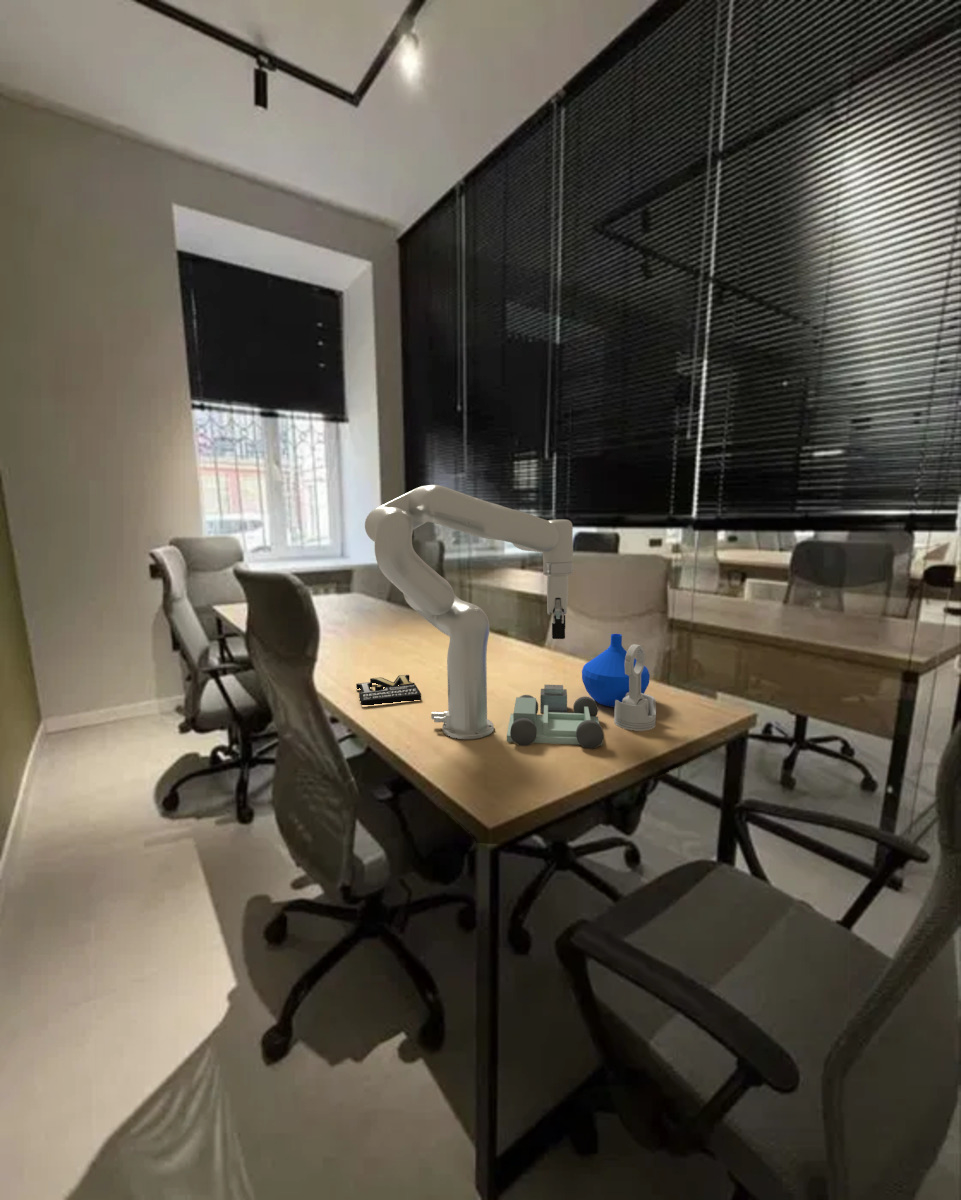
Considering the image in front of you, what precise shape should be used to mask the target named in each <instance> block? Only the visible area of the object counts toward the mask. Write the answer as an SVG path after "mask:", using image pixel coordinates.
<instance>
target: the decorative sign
mask: <svg viewBox="0 0 961 1200" xmlns="http://www.w3.org/2000/svg"><path fill="white" fill-rule="evenodd" d="M409 680H410V674H402V675H401V674H400V675H398V676H397V677H396V679H395V680H394V681H391V680H389V679H386V678H384V677H380V676H379V677H372V678H371V677H370V679H369V681H368V682H361V683H359V682H358V683H356V686H355V687H356V688H357V689H359V688H360V689H361V691H359V693H358V698H360V700H359V702H360V701H361V703H360V706H361V705H374V704H382V703H393V702H401V701H414V700H421V701H422V692H421V691H420V690H419V688H418V687H417V685H416V683H415V682H410V681H409ZM372 683H376V684H378V685H376V686H374V690H371V689H370V687H372V688H373V686H372ZM398 685H399V686H398ZM383 687H385V688H384V689H383ZM356 688H355V689H356ZM357 689H356V690H357Z"/></svg>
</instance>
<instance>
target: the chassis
mask: <svg viewBox="0 0 961 1200" xmlns="http://www.w3.org/2000/svg"><path fill="white" fill-rule="evenodd" d="M598 711H599V710H598V704H597V702H596V701H595V700H594V699H593V698H592V697H591V696H581V697H579V698H577V699H576V700H575V701H574V703H573V712H567V713H557V712H548V705H544V713H543V714H538V712H539V703H538V700H537V697H534V696H532V695H531V694H523V695H520V696H516V697H515V703H514V708H513V713H510V716H509V722H508V727H507V733H506V742H508V743H511V742H512V743H515V744H516V745H518V746H521V747H526V746H529V745H531V744H558V745H559V744H560V745H581V747H583V748H584V749H596V748H598V747H599V746H601V747H603V746H604V744H603V742H604V736H605V735H604V730H603V728H602V727H603V726H601V725H600V722H599V716H598V713H599V712H598Z"/></svg>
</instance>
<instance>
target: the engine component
mask: <svg viewBox="0 0 961 1200" xmlns="http://www.w3.org/2000/svg"><path fill="white" fill-rule="evenodd" d="M626 651H627V653H626V657H625V674H626V675H628V676H629V692H628V693H627V694H626V697H624V698H623V700H622V702H619V701H618V700H615V707H614V715H613V716H614V720H613V721H614V724H615V725H616V726H617V727H619V728H621V729H623V728H624V730H627V729H628V731H632V730H634V731H633V732H645V730H647V731H650V729H651V730H653V729H654V728H656V720H657V719H656V717H657V714H656V713H657V707H656V702H657V701H656V700H657V699H656V698H655V697H654V696H653V695H649V694H647V693H644V694H643V693H641V673H642V671H643V668H644V666H645V664H646V651H645V648H644V647H643V646H642V645H641V644H634V643H633V644H631V645H630V646H629V647H628V649H627V650H626ZM634 658H635V659H636V664H635V667H634ZM652 728H653V729H652Z"/></svg>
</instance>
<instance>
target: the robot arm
mask: <svg viewBox="0 0 961 1200" xmlns="http://www.w3.org/2000/svg"><path fill="white" fill-rule="evenodd" d="M426 523H432V524H436V525H439V526H443V527H445V528H449V529H451V530H455V531H459V532H462V533H465V534H468V535H470V536H474V537H478V538H482V539H485V540H486V539H487V540H496V541H503V542H507V543H511V544H512V545H513V547H515V548H517V549H519V550H522V551H528V552H535V553H542V561H543V562H542V566H543V567H542V568H543V569H542V573H543V576H547V580H546V602H547V603H546V606H547V607H546V608H547V615H549V616H550V615H551V614H552V622H551V637H552V639H553V640H565V639H566V614H567V611H568V605H569V604H568V603H569V576H572V575H573V574H574V553H573V552H574V550H573V549H574V548H573V547H574V546H573V545H574V541H573V539H574V538H573V536H574V535H573V522H572V521H571V520H569V519H549V520H547V519H545V518H541V517H538V516H535V515H534V514H530V513H527V512H523V511H520V510H517V509H513V508H510V507H506V506H503V505H500V504H497V503H493V502H490V501H487V500H484V499H480V498H478V497H474V496H472V495H469V494H466V493H464V492H460V491H458V490H454V489H452V488H449V487H446V486H443V485H439V484H429V485H421V486H419V487H416V488H414V489H412V490H410V491H408V492H406V493H404V494H402V495H400V496H398V497H396V498H394V499H392V500H390V501H388V502H386V503H384V504H382V505H380V506H378V507H376V508H374V509H373V510H371V511H370V512H369V513H368V514H367V516H366V518H365V522H364V530H365V532H366V535H367V536H368V538H369V539H370V540H371V541H372V542H374V555H375V561H376V563H377V565H378V567H379V570H380V571H381V573H382V574H383V575H384V577H385V578H386V579H387V581H389V582H391V583H392V585H393V586H395V587H396V588H397V589H398V590H399V591H400V592H401V593H403V598H404V600H405V602H406V603H407V604H408V606H409V607H410V608H412V609H413V610H414V611H415V612H417V613H418V615H420V616H421V617H422V618H423V619H424V620H426V621H427V622H428V623H429V624H430V625H432V626H433V627H434V628H436V629H438V631H439V632H441V633H442V634H444V635H446V636H447V637H449V642H448V643H449V645H448V649H447V657H446V662H447V663H446V664H447V665H446V667H447V668H446V670H447V704H448V705H447V706H448V707H447V709H448V710H444V711H441V712H440V711H432V712H431V717H430V718H431V720H433V721H434V723H443V724H442V726H441V727H442V732H443V734H444V735H445V736H447V735H448V737H449V736H450V737H449V738H453V739H456V738H457V740H476V739H481V738H485V737H487V736H489V735H490V734H492V733H493V731H494V729H495V728H494V723H493V722H492V721H491V720H490V719H488V690H487V689H488V686H487V685H488V683H487V682H488V681H487V679H488V677H487V672H488V671H487V670H488V669H487V668H488V667H487V651H488V644H489V643H488V642H489V637H490V620H489V618H488V615H487V613H486V612H485V611H484V609H482V608H481V607H480V606H478V605H476V604H475V603H471V602H468V601H465V600H463V599H460V598H459V597H458V596H457V595H456V594H455V592H454V588H453V587H452V585H451V584H450V583H449V582H448V580H447V579H445V578H444V577H443V576H441V575H440V574H439V573H438V572H437V571H436V570H435V569H433V567H431V566H430V565H429V564H427V563H426V562H425V561H424V560H423V559H422V558H421V557H420V556H419V554H418V553H416V551H415V549H414V545H413V533H414V530H415V529H417V528H418V527H420V526H423V525H424V524H426Z"/></svg>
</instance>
